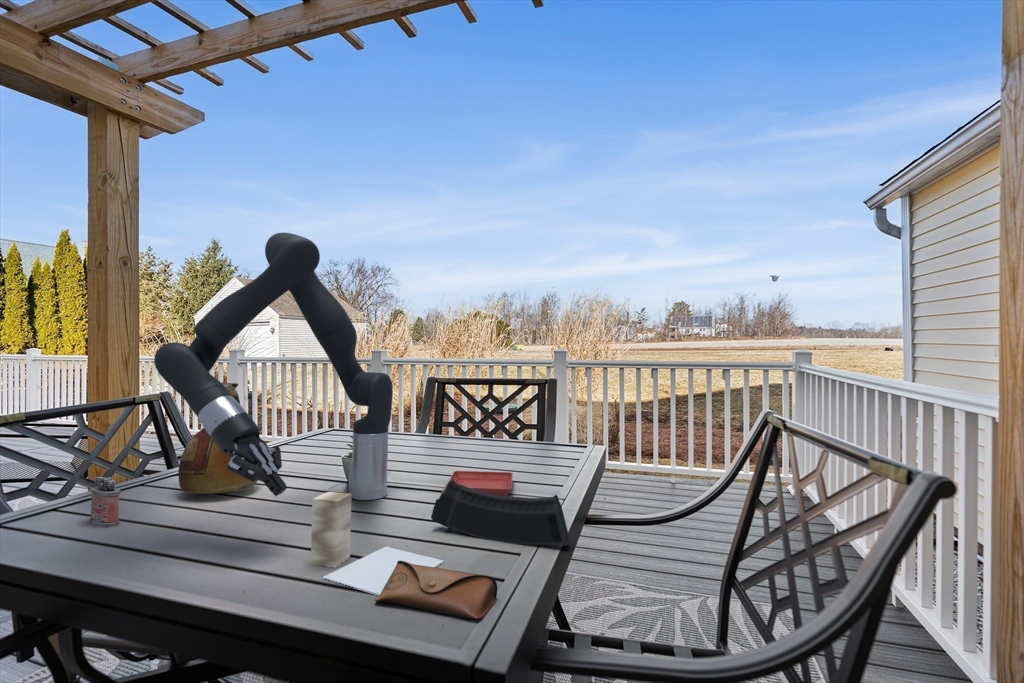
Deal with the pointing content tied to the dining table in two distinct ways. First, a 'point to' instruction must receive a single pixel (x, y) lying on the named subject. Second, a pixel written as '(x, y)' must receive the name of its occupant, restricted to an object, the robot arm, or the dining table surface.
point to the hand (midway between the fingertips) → (281, 491)
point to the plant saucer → (485, 481)
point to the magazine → (501, 516)
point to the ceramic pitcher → (209, 464)
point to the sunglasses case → (440, 590)
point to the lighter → (105, 503)
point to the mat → (377, 569)
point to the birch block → (331, 529)
